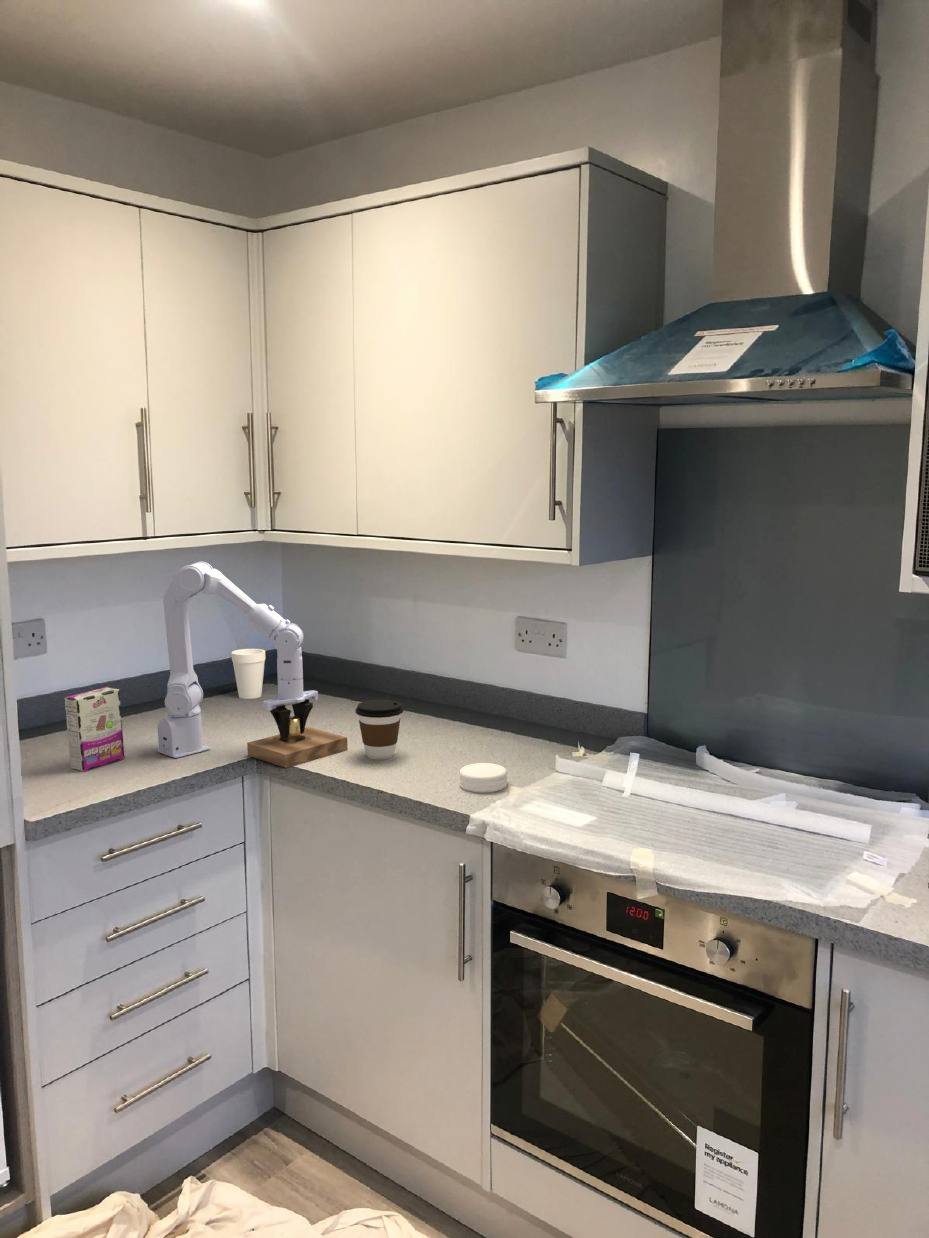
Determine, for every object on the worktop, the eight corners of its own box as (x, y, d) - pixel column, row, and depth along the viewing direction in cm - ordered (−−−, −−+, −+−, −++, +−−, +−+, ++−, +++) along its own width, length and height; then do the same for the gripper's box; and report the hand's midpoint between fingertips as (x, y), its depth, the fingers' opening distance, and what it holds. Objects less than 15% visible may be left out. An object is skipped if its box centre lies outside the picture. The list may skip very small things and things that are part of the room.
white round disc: (496, 796, 196) (496, 779, 195) (451, 790, 199) (451, 773, 199) (514, 781, 205) (514, 765, 204) (470, 775, 208) (470, 760, 208)
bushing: (291, 746, 223) (290, 720, 222) (279, 743, 225) (278, 718, 225) (304, 742, 226) (303, 717, 225) (293, 739, 228) (292, 714, 228)
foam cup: (273, 693, 282) (271, 649, 280) (255, 701, 273) (253, 655, 271) (245, 691, 285) (243, 647, 283) (226, 698, 277) (224, 653, 275)
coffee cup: (401, 747, 229) (400, 697, 227) (406, 761, 218) (406, 709, 216) (354, 749, 227) (353, 699, 225) (357, 764, 216) (356, 711, 214)
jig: (285, 767, 213) (285, 754, 213) (247, 755, 223) (247, 742, 222) (347, 749, 227) (347, 737, 226) (308, 738, 236) (308, 726, 235)
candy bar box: (110, 755, 222) (106, 686, 220) (125, 759, 220) (121, 688, 217) (68, 768, 213) (63, 696, 210) (82, 772, 210) (77, 699, 208)
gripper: (275, 685, 215) (277, 744, 217) (325, 674, 226) (327, 731, 228) (256, 681, 220) (258, 738, 222) (306, 670, 231) (308, 726, 233)
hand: (292, 734), depth 225 cm, fingers closed on bushing, 4 cm apart
